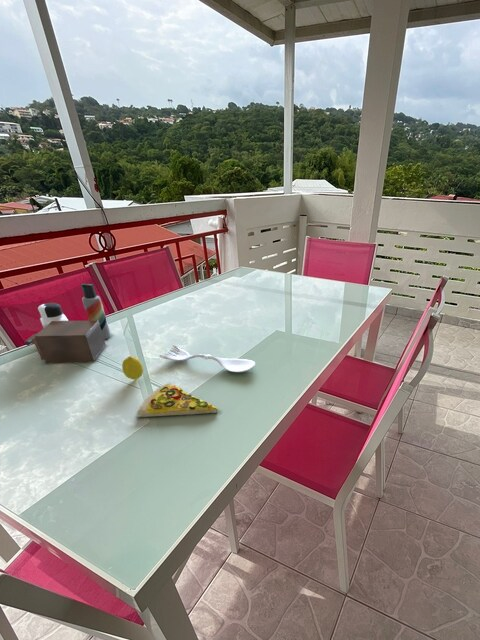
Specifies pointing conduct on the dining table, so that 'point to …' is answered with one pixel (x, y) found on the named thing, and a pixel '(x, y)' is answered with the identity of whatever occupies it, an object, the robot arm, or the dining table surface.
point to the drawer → (33, 341)
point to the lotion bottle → (95, 308)
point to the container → (51, 313)
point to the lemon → (132, 368)
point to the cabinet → (71, 341)
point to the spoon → (227, 364)
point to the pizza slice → (173, 403)
